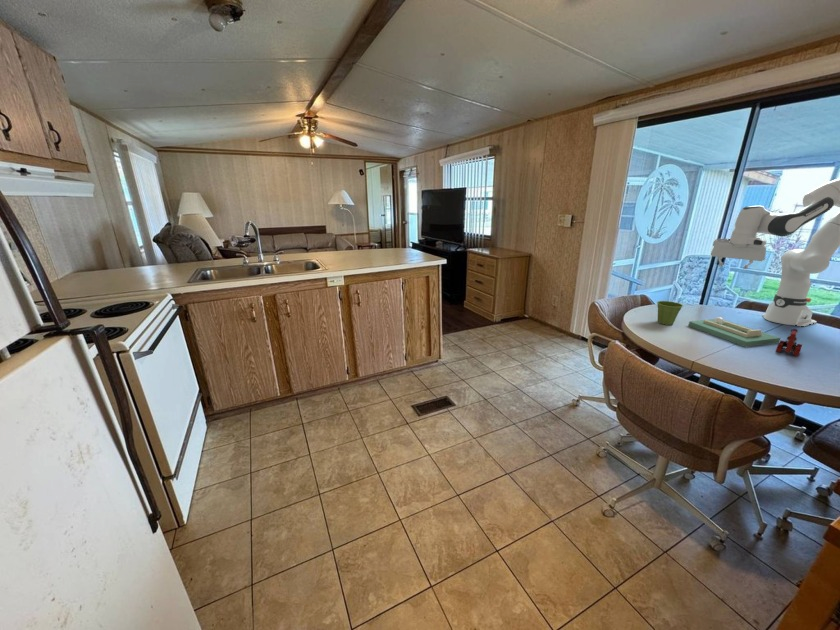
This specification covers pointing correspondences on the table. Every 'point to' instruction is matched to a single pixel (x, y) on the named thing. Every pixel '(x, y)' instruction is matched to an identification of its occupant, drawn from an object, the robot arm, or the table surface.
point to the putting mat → (735, 332)
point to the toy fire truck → (790, 344)
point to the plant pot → (668, 311)
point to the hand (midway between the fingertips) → (732, 267)
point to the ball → (719, 320)
